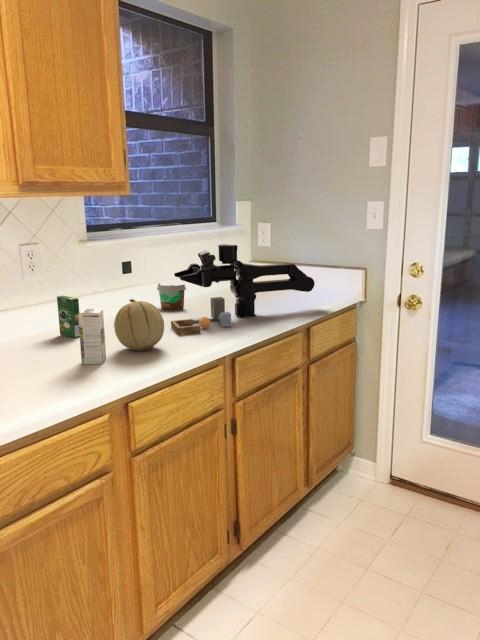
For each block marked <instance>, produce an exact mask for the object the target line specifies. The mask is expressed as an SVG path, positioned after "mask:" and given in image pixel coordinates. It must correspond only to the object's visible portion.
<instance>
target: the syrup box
mask: <svg viewBox="0 0 480 640" xmlns="http://www.w3.org/2000/svg"><path fill="white" fill-rule="evenodd" d="M78 318H79V332H80V337H79V342H80V345H79V347H80V356H81V365H82V366H83V365H84V366H85V365H103V364H104V362H105V360H106V358H107V353H106V352H107V351H106V336H105V335H106V333H105V319H104V309H103V308H92V307H91V308H84V309H83V308H82V310H81V311H79V314H78Z"/></svg>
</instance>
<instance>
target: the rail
mask: <svg viewBox="0 0 480 640" xmlns="http://www.w3.org/2000/svg"><path fill="white" fill-rule="evenodd" d="M200 319H201V318H200ZM200 319H193V325H195V324H196V325H197V324H199V320H200ZM209 319H210V322H211V323H213V322H215V323H216V322H220V319H214V318H212V317H211V318H210V317H209Z"/></svg>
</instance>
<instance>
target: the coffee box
mask: <svg viewBox="0 0 480 640" xmlns="http://www.w3.org/2000/svg"><path fill="white" fill-rule="evenodd" d="M56 301H57V302H56V304H57V311H58V312H57V313H58V325H59V335H61V336H63V337H69V338H71V339H72V338H73V339H78V338H80V332H79V318H78V314H79V313H80V304H79V303H80V301H79V298H78V297H72V296H67V295H58V296H56Z"/></svg>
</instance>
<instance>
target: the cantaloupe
mask: <svg viewBox="0 0 480 640" xmlns="http://www.w3.org/2000/svg"><path fill="white" fill-rule="evenodd" d="M129 302H130V303H127V304H125V305H123V306H122V307H120V309H119V310H118V311H117V313H116V315H115V317H114V322H113V328H114V334H115V336H116V339H118V341H119V343H120V344H121V345H122V346H124V347H125V348H127V349H129V350H133V351H139V352H140V351H142V352H145V351H146V350H148V349H151V348H152V347H155V346H156V345H157V344H158V343H159V342H160V341H161V340H162V339H163V335H164V332H165V320H164V317H163V315H162V313H161V311H160V310H159V309H158V308H157V307H156V306H155V305H154V304H153V303H151V302H148V301H144V300H143V301H142V300H141V301H139V300H138V301H137V300H135V299H133V298H130V299H129Z"/></svg>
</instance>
